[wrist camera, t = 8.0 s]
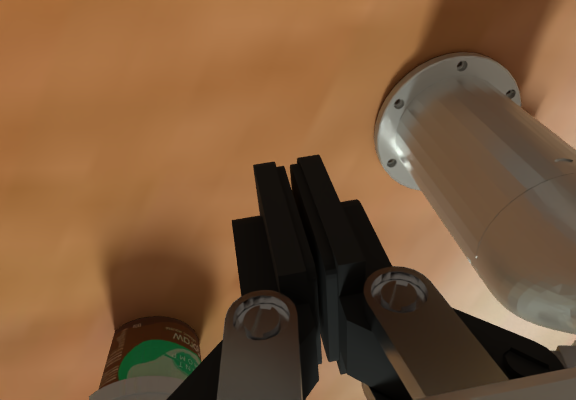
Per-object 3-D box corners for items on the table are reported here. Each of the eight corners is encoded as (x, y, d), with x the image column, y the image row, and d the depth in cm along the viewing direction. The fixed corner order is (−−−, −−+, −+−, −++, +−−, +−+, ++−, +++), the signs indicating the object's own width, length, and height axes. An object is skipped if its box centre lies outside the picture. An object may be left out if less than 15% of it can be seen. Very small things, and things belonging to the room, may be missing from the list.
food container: (234, 336, 54) (242, 422, 46) (198, 367, 56) (200, 454, 48) (138, 290, 48) (127, 379, 40) (101, 326, 50) (85, 418, 42)
